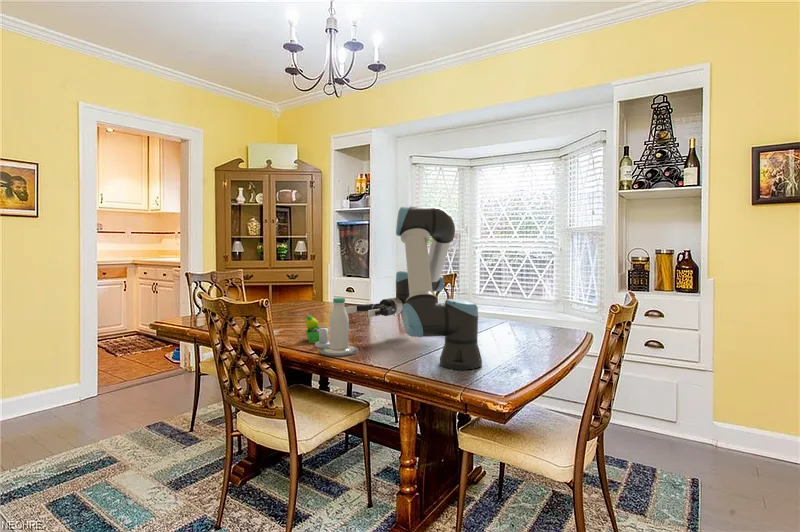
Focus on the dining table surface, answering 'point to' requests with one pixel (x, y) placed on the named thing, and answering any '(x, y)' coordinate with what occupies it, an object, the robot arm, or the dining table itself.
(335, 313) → the milk bottle
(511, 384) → the dining table surface
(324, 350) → the grey plate
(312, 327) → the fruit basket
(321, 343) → the small pipe fitting
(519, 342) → the dining table surface
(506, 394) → the dining table surface
